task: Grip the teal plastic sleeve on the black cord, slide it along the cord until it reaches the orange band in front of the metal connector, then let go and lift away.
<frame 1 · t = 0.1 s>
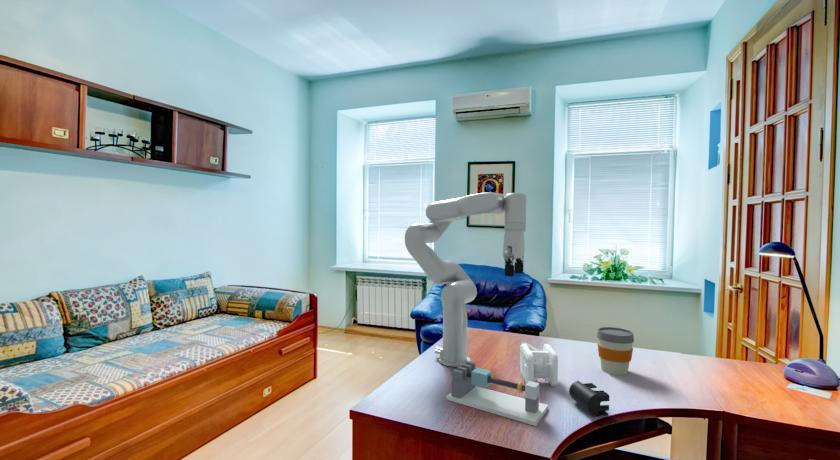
hand: (514, 274, 143), 37 cm above the table, tool pointing down, fingers open, 9 cm apart
cable organizer: (537, 381, 139), on the table
end cap: (588, 410, 118), on the table
pale grey flat piece: (524, 354, 170), on the table
reusable coffee cup: (614, 371, 150), on the table
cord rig: (496, 404, 121), on the table
sleeve: (481, 377, 123), point 7 cm above the table, slide at 0.0 cm
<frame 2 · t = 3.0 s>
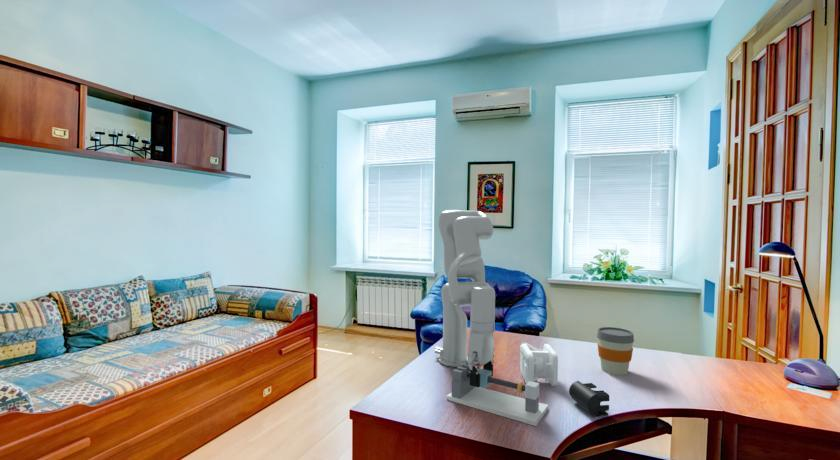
hand: (481, 380, 123), 6 cm above the table, tool pointing down, fingers open, 9 cm apart
nothing on the table moved.
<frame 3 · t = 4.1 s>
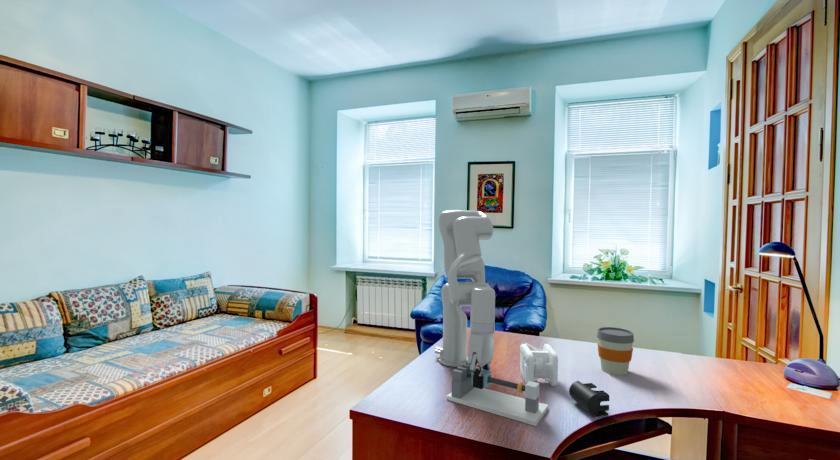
hand: (481, 384, 123), 5 cm above the table, tool pointing down, fingers closed on sleeve, 4 cm apart
sleeve: (481, 377, 123), point 7 cm above the table, slide at 0.0 cm, touching gripper
everything else where it was.
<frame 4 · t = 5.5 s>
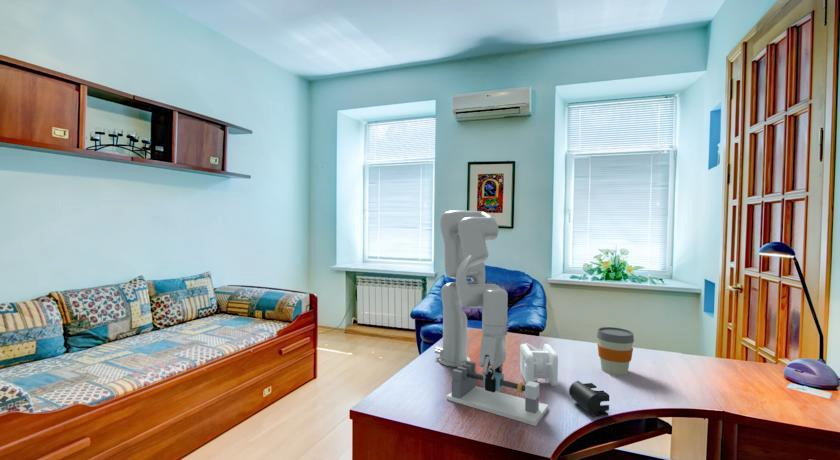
hand: (493, 387, 121), 5 cm above the table, tool pointing down, fingers closed on sleeve, 4 cm apart
sleeve: (493, 380, 121), point 7 cm above the table, slide at 4.0 cm, touching gripper
everything else where it was.
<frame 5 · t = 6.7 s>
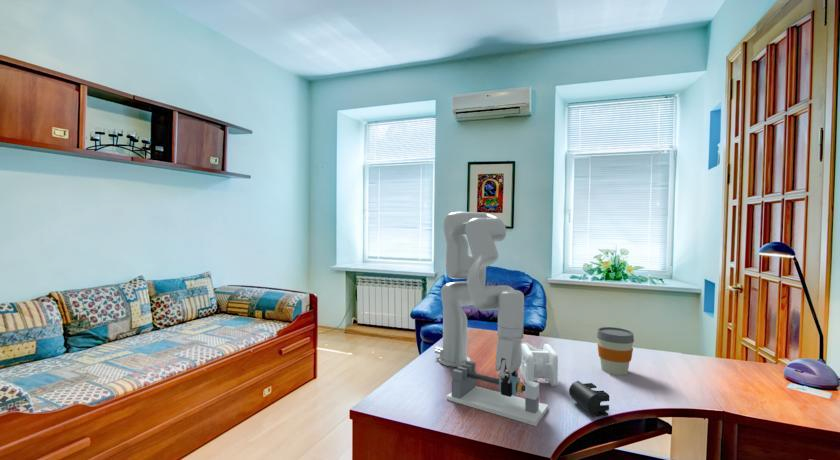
hand: (509, 391, 118), 5 cm above the table, tool pointing down, fingers closed on sleeve, 4 cm apart
sleeve: (509, 384, 118), point 7 cm above the table, slide at 9.1 cm, touching gripper
everything else where it was.
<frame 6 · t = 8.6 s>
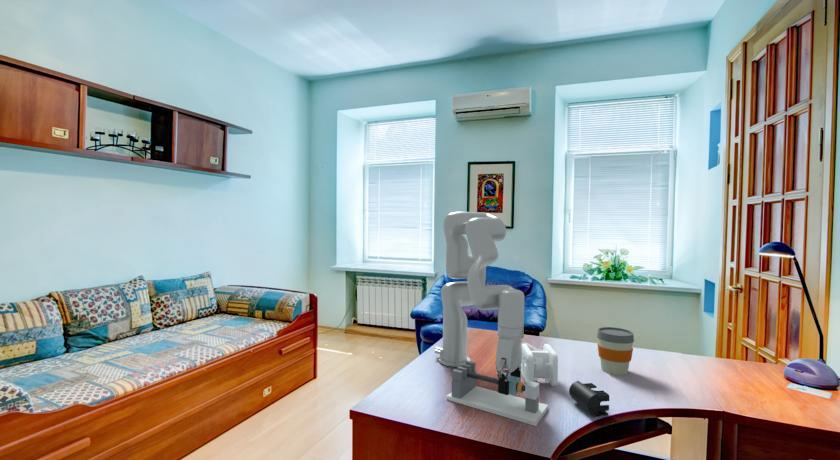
hand: (509, 387, 118), 6 cm above the table, tool pointing down, fingers open, 9 cm apart
sleeve: (509, 384, 118), point 7 cm above the table, slide at 9.0 cm
everything else where it was.
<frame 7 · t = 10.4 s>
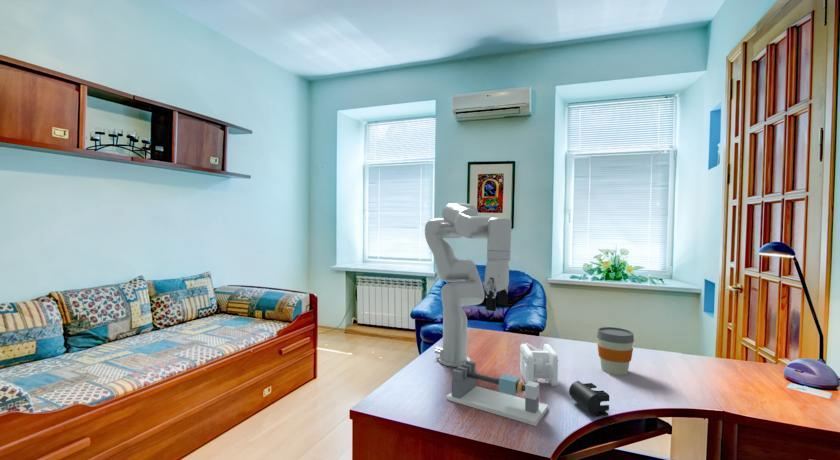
hand: (496, 307, 130), 28 cm above the table, tool pointing down, fingers open, 9 cm apart
nothing on the table moved.
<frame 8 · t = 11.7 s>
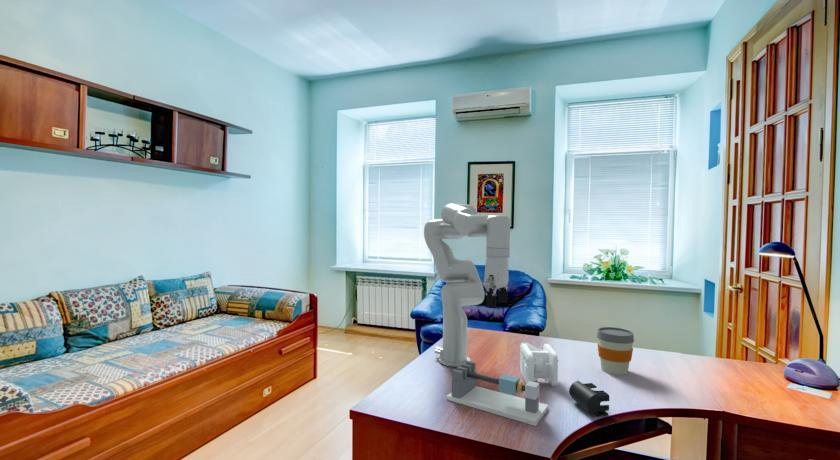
hand: (496, 305, 130), 28 cm above the table, tool pointing down, fingers open, 9 cm apart
nothing on the table moved.
at the end: sleeve slide at 9.0 cm; the gripper is holding nothing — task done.
